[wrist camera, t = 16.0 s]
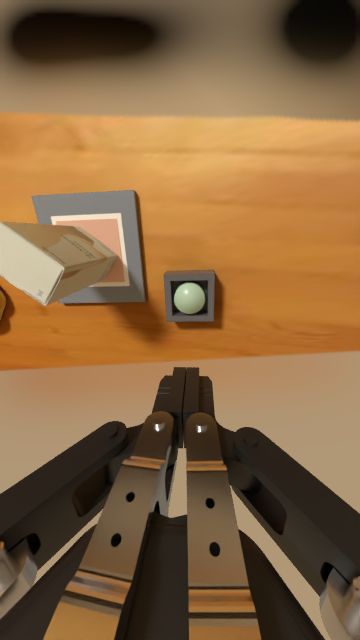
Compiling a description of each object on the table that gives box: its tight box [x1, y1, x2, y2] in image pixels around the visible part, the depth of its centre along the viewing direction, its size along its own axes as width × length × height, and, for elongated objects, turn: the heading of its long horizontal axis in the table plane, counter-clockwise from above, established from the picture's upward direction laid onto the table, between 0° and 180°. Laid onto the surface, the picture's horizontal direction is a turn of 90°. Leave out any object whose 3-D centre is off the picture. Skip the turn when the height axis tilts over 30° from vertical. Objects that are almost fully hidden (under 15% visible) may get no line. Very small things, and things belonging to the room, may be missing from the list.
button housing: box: [164, 270, 215, 322], centre depth 30 cm, size 6×6×3 cm
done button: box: [174, 281, 205, 314], centre depth 29 cm, size 4×4×2 cm
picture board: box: [32, 190, 146, 303], centre depth 30 cm, size 13×14×1 cm
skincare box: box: [0, 222, 117, 306], centre depth 24 cm, size 6×4×12 cm
